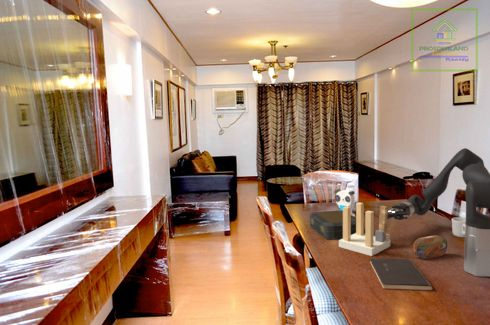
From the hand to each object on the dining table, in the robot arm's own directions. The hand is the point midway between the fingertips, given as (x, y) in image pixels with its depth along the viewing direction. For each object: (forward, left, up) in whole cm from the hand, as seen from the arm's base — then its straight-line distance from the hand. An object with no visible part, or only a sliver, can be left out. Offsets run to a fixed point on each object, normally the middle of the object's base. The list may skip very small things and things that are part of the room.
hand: (384, 216), depth 158 cm
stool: (-2, +9, -13) cm, 16 cm away
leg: (-2, +1, -10) cm, 10 cm away
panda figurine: (+52, +11, -13) cm, 54 cm away
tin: (-12, -15, -13) cm, 23 cm away
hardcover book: (-31, +2, -14) cm, 34 cm away
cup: (+14, -38, -13) cm, 42 cm away
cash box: (+20, +19, -14) cm, 31 cm away
